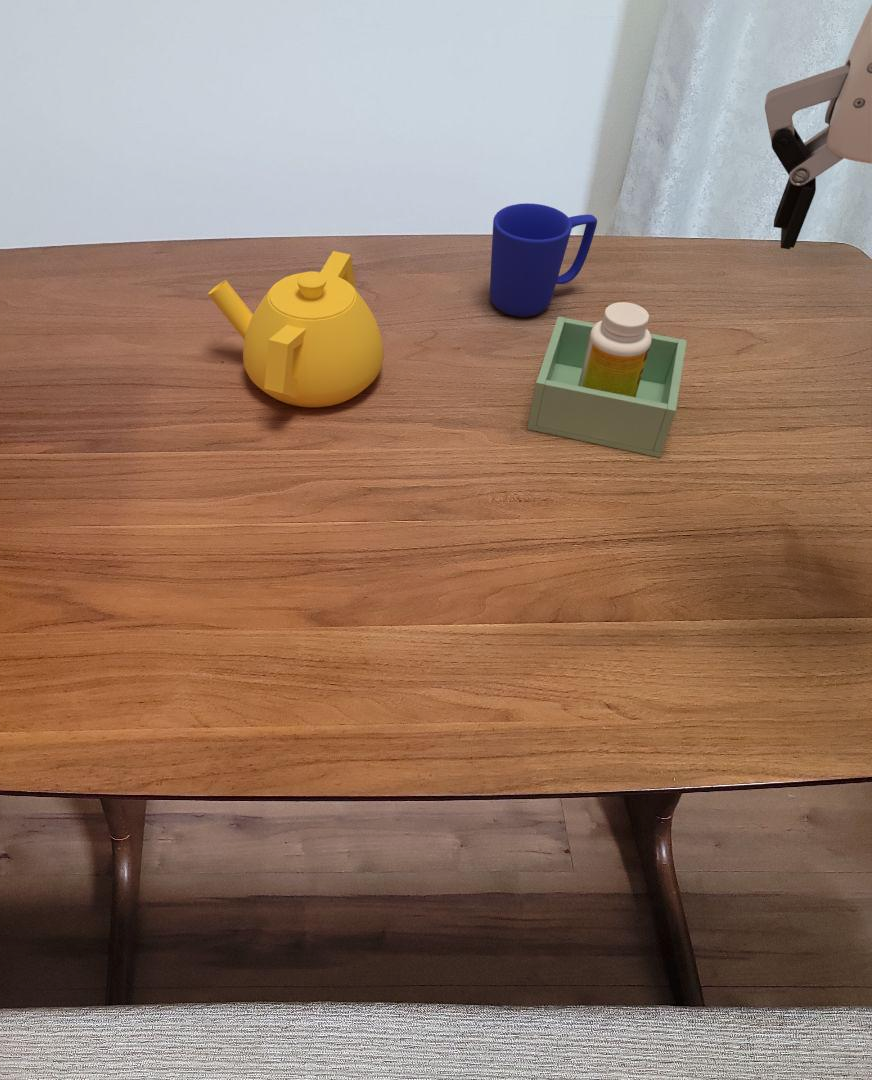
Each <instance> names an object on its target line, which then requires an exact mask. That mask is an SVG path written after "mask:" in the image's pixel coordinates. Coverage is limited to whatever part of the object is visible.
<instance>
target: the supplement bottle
mask: <svg viewBox="0 0 872 1080" xmlns="http://www.w3.org/2000/svg"><path fill="white" fill-rule="evenodd" d="M649 320H650V315H649V312H648V311H647V310H646V309H645V308H644V307H642V306H640V305H638V304H637V303H632V302H627V301H620V302H614V303H611V304H609V305H608V306H607V307H606V308H605V311H604V313H603V316H602V319H601V320H600V321H598V322H595V323H596V324H595V325H594V326H593V328H592V330H591V333H590V337H589V341H588V345H587V349H586V354H585V358H584V362H583V366H582V371H581V375H580V379H579V384H578V386H580V387H585V388H590V389H595V390H600V391H605V392H610V393H615V394H620V395H625V396H630V397H636V393H637V390H638V387H639V383H640V380H641V377H642V373H643V370H644V366H645V363H646V359H647V356H648V352H649V349H650V346H651V340H652V339H651V334H652V333H651V332H650V331H649V329H648V325H649ZM650 333H651V334H650Z"/></svg>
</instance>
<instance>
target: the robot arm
mask: <svg viewBox="0 0 872 1080" xmlns="http://www.w3.org/2000/svg"><path fill="white" fill-rule="evenodd" d="M826 102H828V105H827V107H826V111H825V116H824V123H825V124H827V125H828V126H826V127H825V128H823V129H822V130H821V131H818V133H816V134H815V135H813V136H812V137H811V138H809V139H808V140H806V141H805V142H804V141H803V139H802V138H801V136H800V134H799V132H798V131H797V129H796V128H795V126H794V122H793V117H794V115H795V113H797V112H799V111H802V110H804V109H808V108H810V107H814V106H816V105H820V104H822V103H826ZM764 112H765V117H766V122H767V127H768V133H769V137H770V143H771V148H772V151H773V153H774V154H775V155H776V157H777V158H778V160H779V162H780V163H781V165H782V167H783V169H784V170H785V171H786V173H787V174H788V179H787V182H786V185H785V187H784V189H783V193H782V195H781V198H780V201H779V205H778V206H777V209H776V212H775V215H774V219H773V228H776V229H780V249H784V250H790V249H791V248H792V249H793V248H795V246H796V243H797V241H798V238H799V236H800V233H801V230H802V229H803V226H804V223H805V220H806V218H807V216H808V213H809V210H810V208H811V205H812V202H813V200H814V197H815V194H816V191H817V179H816V178H817V177H818V176H820V175H822V174H823V173H825V172H826V171H827V170H829V169H831V168H832V167H833V166H835V165H836V164H838V163H839V162H841V161H843V160H844V159H845V160H848V161H853V162H860V163H865V164H870V165H871V164H872V4H870V7H869V9H868V11H867V13H866V15H865V17H864V19H863V22H862V23H861V26H860V28H859V30H858V33H857V34H856V37H855V38H854V41H853V44H852V45H851V48H850V50H849V52H848V55H847V57H846V60H845V63H844V64H843V65H841V66H839V67H836V68H833V69H829V70H827V71H824V72H821V73H817V74H815V75H812V76H809V77H806V78H803V79H800V80H797V81H794V82H790V83H788V84H785V85H782V86H778V87H776V88H773V89H770V90H769V91H768V93H766V96H765V99H764Z"/></svg>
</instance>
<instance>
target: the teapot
mask: <svg viewBox="0 0 872 1080" xmlns="http://www.w3.org/2000/svg"><path fill="white" fill-rule="evenodd" d="M353 268H354V267H353V261H352V255H351V254H349V253H344V252H340V251H335V250H333V251H332V252H331V254H330V255H329V257H328V258H327V260H326V262H325V264H324V265H323V266H322V268H321V270H320V271H315V270H314V271H313V270H312V271H309V270H308V271H304V272H299V273H298V272H297V273H295V274H291V275H288V276H285V277H283V278H281V279H280V280H278V281H277V282H275V283H274V284H273V285H272V286H271V288H270V289H268V291H267V292H266V294H265V295H264V296H263V298H262V300H260V303H259V304H258V306H257V307H256V309H255V311H254V313H253V312H252V311H251V310H250V309H249V308H248V306H247V305H246V304H245V302H244V301H243V300H242V298H241V297H240V295H238V293H237V292H236V291H235V289H234V288H233V287H232V286H231V285H230V283H229V282H228V281H227V279H225V280H222V281H221V282H219V283H218V284H217V285H215V286H214V287H213V288H212V289H210V291H209V292H207V295H208V297H209V298H210V299H211V300H212V301H213V303H214V304H215V305H216V307H217V308H218V309H219V310H220V312H221V313H222V314H223V315H224V317H225V318H226V319H227V320H228V322H229V323H230V324H231V325H232V327H233V328H234V329H235V330H236V332H237V333H238V334H239V336H240V337H241V338H242V339H243V341H244V343H243V349H242V360H243V367H244V370H245V372H246V374H247V375H248V377H249V379H250V381H252V383H253V384H254V385H256V387H258V388H259V389H260V390H261V391H262V392H264V393H265V394H267V395H268V396H270V397H272V398H273V399H275V400H277V401H279V402H282V403H284V404H287V405H291V406H295V407H301V408H325V407H326V408H327V407H332V406H336V405H339V404H343V403H344V402H347V401H349V400H352V399H353V398H355V397H356V396H358V395H359V394H361V393H362V392H363V391H364V390H365V389H366V388H369V386H370V385H371V384H372V383H373V382H374V381H375V380H376V379H377V377H378V375H379V373H380V371H381V369H382V367H383V362H384V343H383V338H382V335H381V332H380V328H379V327H380V326H379V325H378V323H377V320H376V317H375V316H374V314H373V312H372V310H371V309H370V307H369V306H368V305H367V303H366V302H365V300H364V299H363V298H362V295H361V294H360V293H359V292H358V290H357V289H356V280H355V273H354V269H353Z"/></svg>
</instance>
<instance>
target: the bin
mask: <svg viewBox="0 0 872 1080" xmlns="http://www.w3.org/2000/svg"><path fill="white" fill-rule="evenodd" d="M596 323H597V322H591V321H584V320H579V319H574V318H568V317H564V316H563V317H562V316H557V318H556V321H555V323H554V327H553V330H552V333H551V335H550V339H549V342H548V345H547V347H546V351H545V354H544V357H543V360H542V364H541V365H540V366H541V367H540V369H539V373H538V375H537V378H536V382H535V387H534V391H533V395H532V396H533V397H532V401H531V407H530V410H529V411H530V412H529V417H528V422H527V428H526V429H527V430H530V431H534V432H539V433H543V434H549V435H552V436H557V437H562V438H568V439H571V440H576V441H581V442H585V443H590V444H594V445H600V446H605V447H609V448H614V449H618V450H623V451H628V452H632V453H637V454H642V455H647V456H651V457H656V458H661V457H662V454H663V451H664V448H665V445H666V442H667V439H668V436H669V433H670V431H671V427H672V424H673V421H674V418H675V414H676V413H677V408H678V403H679V402H678V401H679V395H680V388H681V382H682V375H683V369H684V361H685V356H686V349H687V342H688V340H687V339H683V338H677V337H672V336H666V335H661V334H656V333H651V332H650V334H651V339H652V340H651V346H650V349H649V352H648V356H647V359H646V363H645V366H644V370H643V373H642V377H641V380H640V383H639V387H638V390H637V393H636V397H630V396H625V395H620V394H615V393H610V392H605V391H600V390H595V389H590V388H585V387H580V386H578V384H579V379H580V375H581V371H582V366H583V362H584V358H585V354H586V349H587V345H588V341H589V337H590V333H591V330H592V328H593V326H594V325H595V324H596Z"/></svg>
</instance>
